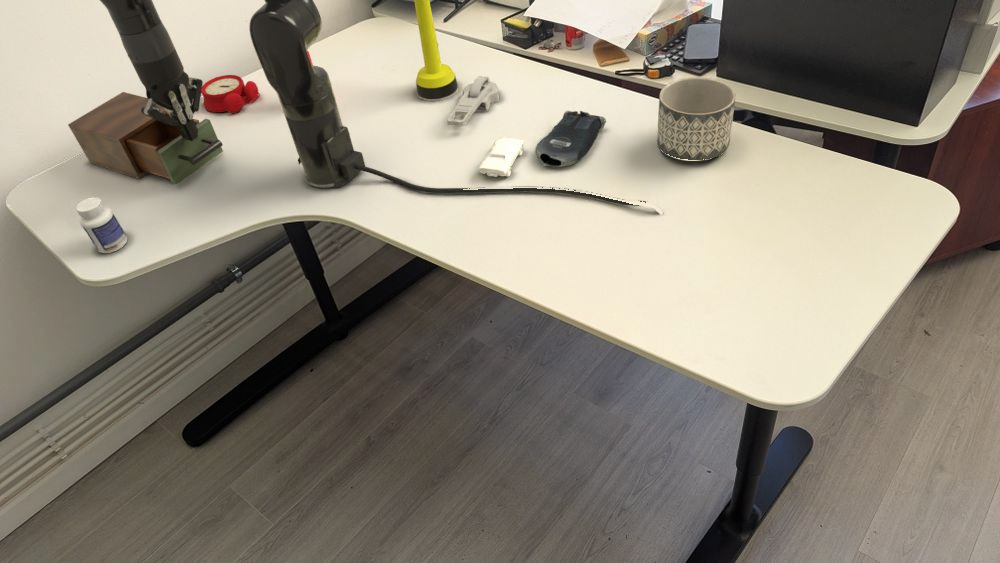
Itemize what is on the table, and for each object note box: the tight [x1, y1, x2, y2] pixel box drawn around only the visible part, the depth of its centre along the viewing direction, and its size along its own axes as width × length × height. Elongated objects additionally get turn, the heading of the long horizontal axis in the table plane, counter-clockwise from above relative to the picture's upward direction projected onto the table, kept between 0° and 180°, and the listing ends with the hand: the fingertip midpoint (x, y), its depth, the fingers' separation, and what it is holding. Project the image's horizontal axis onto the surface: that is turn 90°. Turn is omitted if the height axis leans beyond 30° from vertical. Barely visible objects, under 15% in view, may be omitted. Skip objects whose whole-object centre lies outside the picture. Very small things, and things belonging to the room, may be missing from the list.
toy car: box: [478, 137, 525, 178], centre depth 133 cm, size 6×12×3 cm, turn 160°
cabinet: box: [67, 91, 167, 180], centre depth 147 cm, size 16×14×9 cm
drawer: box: [124, 113, 224, 186], centre depth 141 cm, size 19×12×7 cm, turn 60°
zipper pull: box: [447, 75, 500, 127], centre depth 147 cm, size 8×18×4 cm, turn 161°
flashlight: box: [413, 0, 459, 102], centre depth 148 cm, size 25×9×9 cm
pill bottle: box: [75, 197, 128, 254], centre depth 125 cm, size 5×5×9 cm
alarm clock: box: [201, 74, 261, 114], centre depth 161 cm, size 10×6×15 cm
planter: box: [656, 76, 737, 160], centre depth 128 cm, size 13×13×10 cm
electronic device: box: [535, 110, 607, 168], centre depth 134 cm, size 9×6×15 cm
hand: (192, 138), depth 136 cm, fingers closed
